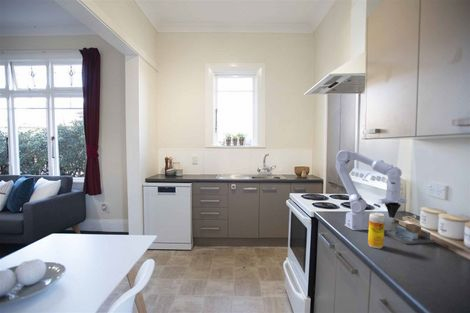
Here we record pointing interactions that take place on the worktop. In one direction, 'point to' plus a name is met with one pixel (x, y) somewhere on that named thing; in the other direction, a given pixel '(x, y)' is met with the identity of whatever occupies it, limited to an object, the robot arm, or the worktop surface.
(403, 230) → the sliding jaw
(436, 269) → the worktop surface
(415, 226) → the block
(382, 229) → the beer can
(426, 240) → the vise
